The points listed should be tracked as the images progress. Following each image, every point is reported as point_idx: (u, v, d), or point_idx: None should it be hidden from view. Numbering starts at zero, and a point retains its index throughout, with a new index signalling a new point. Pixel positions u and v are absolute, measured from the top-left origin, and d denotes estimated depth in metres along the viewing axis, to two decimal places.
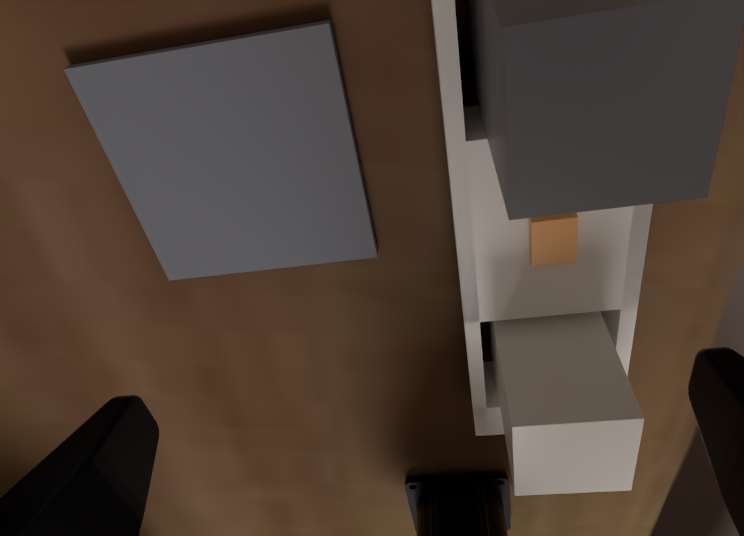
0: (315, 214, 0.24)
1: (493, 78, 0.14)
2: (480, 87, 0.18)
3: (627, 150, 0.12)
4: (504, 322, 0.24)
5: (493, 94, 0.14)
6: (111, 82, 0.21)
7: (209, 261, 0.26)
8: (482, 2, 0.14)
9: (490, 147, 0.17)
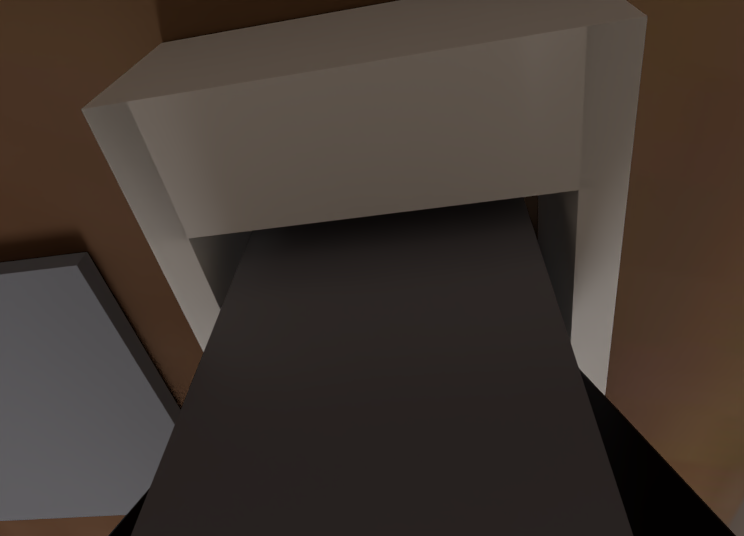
0: (128, 467, 0.17)
1: None
2: None
3: None
4: None
5: None
6: None
7: (2, 507, 0.19)
8: None
9: None
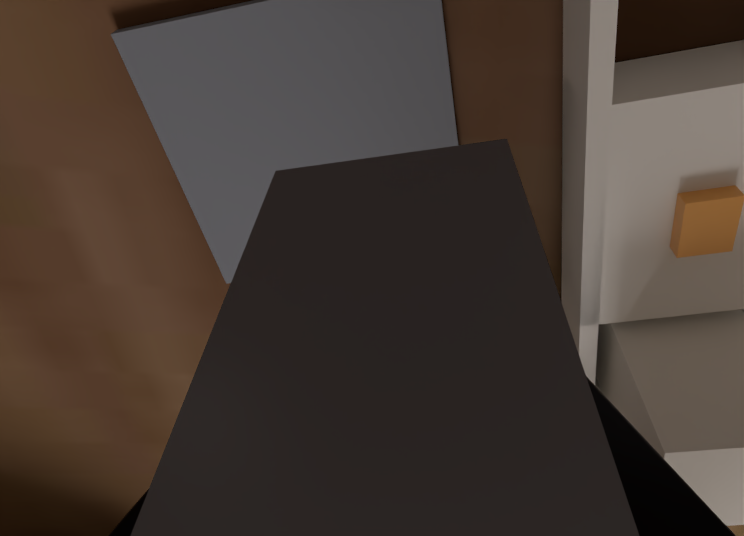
0: None
1: None
2: None
3: None
4: (624, 324, 0.21)
5: None
6: (167, 48, 0.17)
7: None
8: None
9: None
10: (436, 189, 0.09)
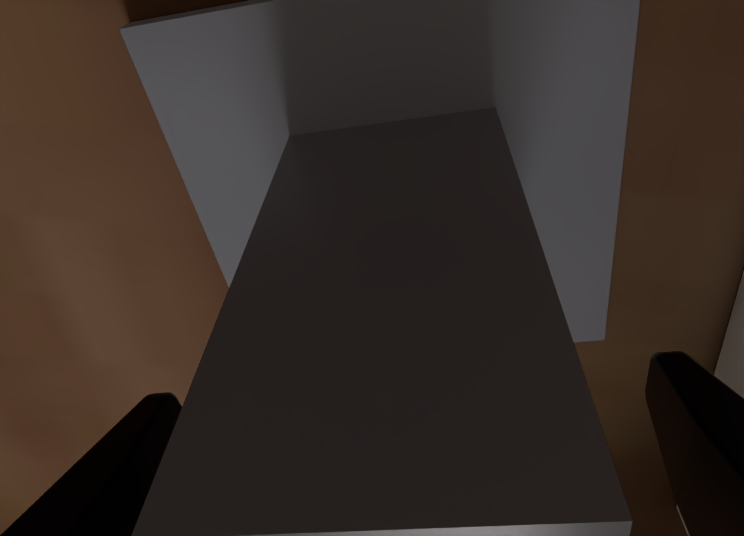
0: None
1: None
2: None
3: None
4: None
5: None
6: (205, 53, 0.11)
7: None
8: None
9: None
10: (433, 147, 0.11)
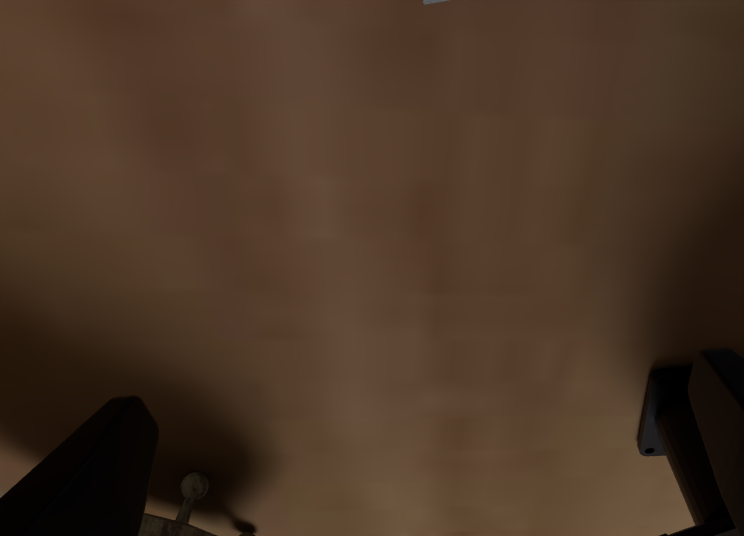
0: None
1: None
2: None
3: None
4: None
5: None
6: None
7: None
8: None
9: None
10: None
